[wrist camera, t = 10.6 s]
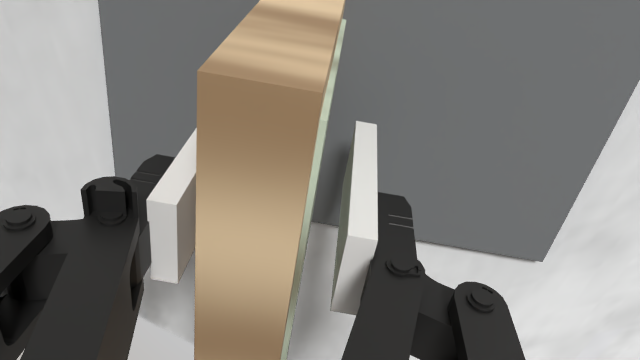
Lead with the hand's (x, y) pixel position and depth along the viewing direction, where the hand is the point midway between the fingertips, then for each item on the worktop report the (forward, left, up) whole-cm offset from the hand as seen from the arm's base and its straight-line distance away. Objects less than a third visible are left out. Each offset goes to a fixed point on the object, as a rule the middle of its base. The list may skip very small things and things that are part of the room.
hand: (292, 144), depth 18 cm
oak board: (0, 0, -2) cm, 2 cm away
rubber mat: (+2, +1, -2) cm, 3 cm away
